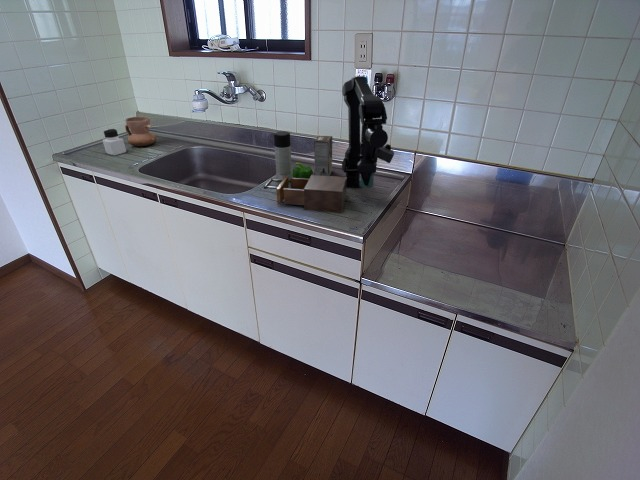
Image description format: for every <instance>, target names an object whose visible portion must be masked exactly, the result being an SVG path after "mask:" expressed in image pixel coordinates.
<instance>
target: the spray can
mask: <svg viewBox="0 0 640 480" xmlns="http://www.w3.org/2000/svg"><path fill="white" fill-rule="evenodd" d="M273 142H274V144H273V145H274V157H275V158H274V159H275V172H276V175H275V176H276V180H283V179H284V177H285V176H288V180H289V182H291V178H293V177H292V172H293V167H292V165H293V164H292V146H291V133H290V132H289V131H284V130H280V131H276V132H275V133H274V132H273Z"/></svg>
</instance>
